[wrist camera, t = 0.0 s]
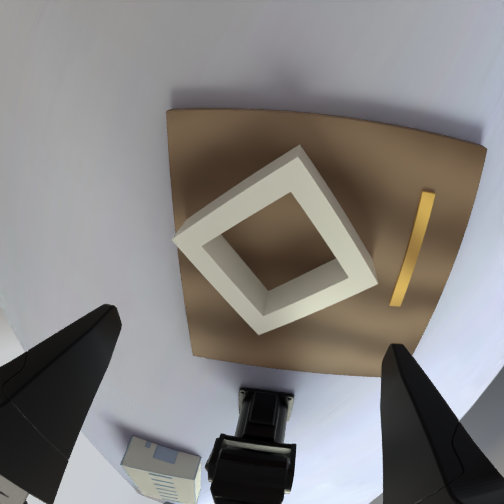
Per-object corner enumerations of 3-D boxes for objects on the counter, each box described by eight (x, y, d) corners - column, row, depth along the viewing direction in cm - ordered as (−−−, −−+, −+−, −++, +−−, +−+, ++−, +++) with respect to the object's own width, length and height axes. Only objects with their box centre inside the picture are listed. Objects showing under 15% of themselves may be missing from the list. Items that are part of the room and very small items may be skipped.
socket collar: (372, 259, 23) (378, 283, 21) (264, 309, 27) (258, 335, 25) (299, 144, 20) (298, 156, 17) (186, 219, 24) (171, 239, 21)
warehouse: (200, 488, 70) (194, 511, 63) (150, 473, 71) (142, 495, 64) (201, 455, 53) (192, 488, 47) (133, 433, 54) (120, 464, 48)
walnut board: (398, 370, 31) (400, 379, 30) (195, 348, 33) (192, 356, 32) (481, 144, 18) (488, 149, 17) (172, 108, 21) (165, 111, 20)
